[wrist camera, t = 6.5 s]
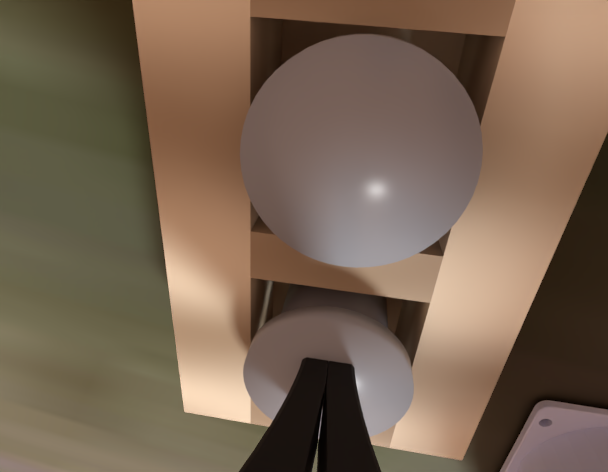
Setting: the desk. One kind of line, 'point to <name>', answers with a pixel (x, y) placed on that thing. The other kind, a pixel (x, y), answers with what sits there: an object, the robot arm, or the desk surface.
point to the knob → (332, 352)
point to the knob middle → (361, 150)
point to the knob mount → (395, 276)
